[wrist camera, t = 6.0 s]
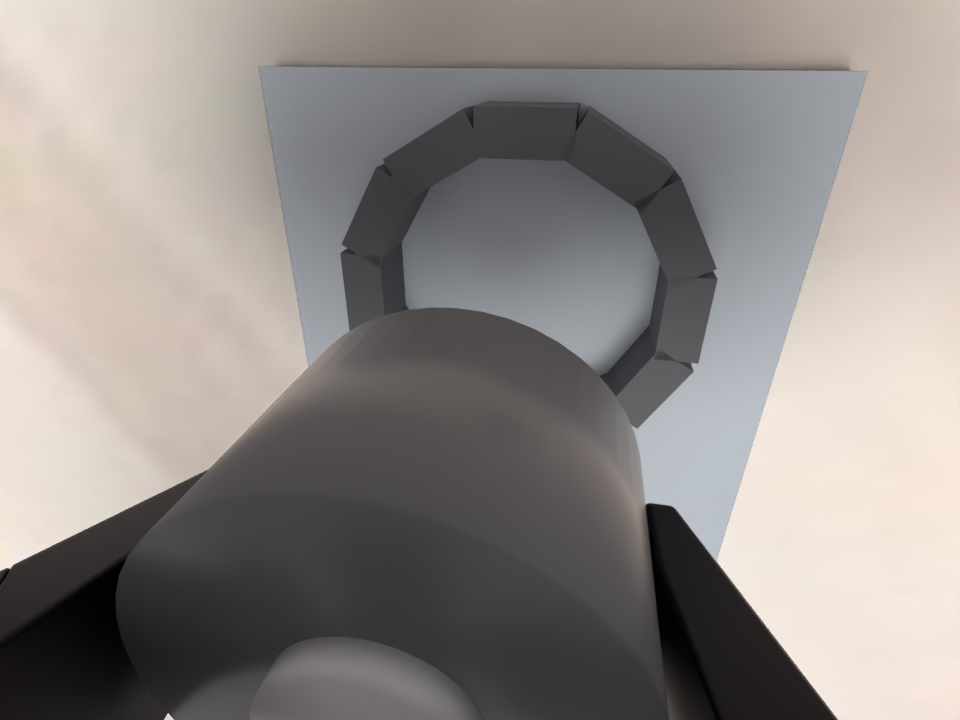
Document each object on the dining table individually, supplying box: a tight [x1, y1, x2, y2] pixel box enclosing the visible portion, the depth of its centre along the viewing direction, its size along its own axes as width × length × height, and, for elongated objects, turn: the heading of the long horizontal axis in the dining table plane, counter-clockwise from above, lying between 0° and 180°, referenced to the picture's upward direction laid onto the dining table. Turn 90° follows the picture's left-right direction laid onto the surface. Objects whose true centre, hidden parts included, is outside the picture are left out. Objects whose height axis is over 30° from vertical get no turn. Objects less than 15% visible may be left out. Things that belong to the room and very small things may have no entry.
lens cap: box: [115, 307, 669, 720], centre depth 7 cm, size 6×6×4 cm
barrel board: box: [258, 66, 868, 561], centre depth 19 cm, size 16×20×3 cm
